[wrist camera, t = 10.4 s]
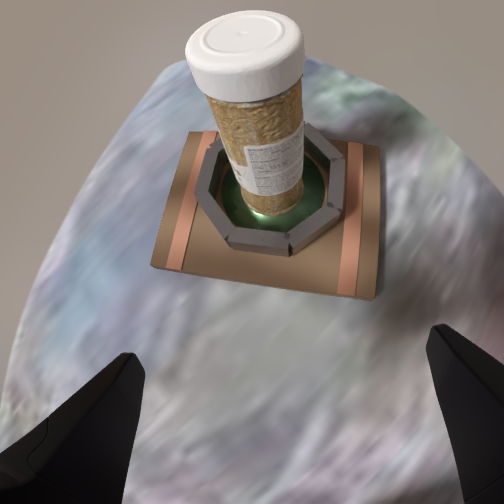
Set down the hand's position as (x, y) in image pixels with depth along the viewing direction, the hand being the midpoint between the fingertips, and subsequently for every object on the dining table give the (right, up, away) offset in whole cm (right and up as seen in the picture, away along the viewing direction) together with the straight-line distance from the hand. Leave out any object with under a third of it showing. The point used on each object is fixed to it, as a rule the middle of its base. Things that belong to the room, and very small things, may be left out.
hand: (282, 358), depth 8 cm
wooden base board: (+1, +6, +14) cm, 16 cm away
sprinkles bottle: (+1, +7, +14) cm, 16 cm away
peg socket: (+1, +7, +15) cm, 17 cm away
